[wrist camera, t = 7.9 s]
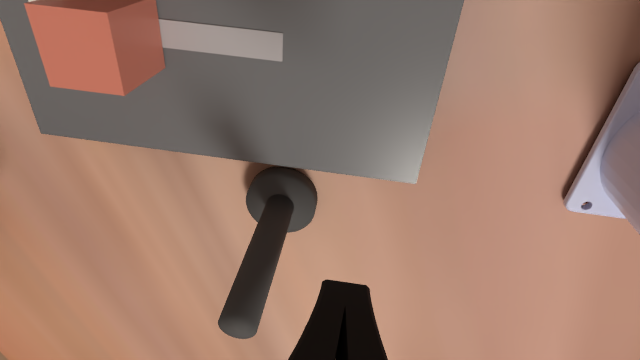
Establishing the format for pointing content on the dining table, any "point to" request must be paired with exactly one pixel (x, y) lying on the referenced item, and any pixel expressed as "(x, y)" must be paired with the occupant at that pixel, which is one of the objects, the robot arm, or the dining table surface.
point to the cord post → (266, 243)
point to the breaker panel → (269, 83)
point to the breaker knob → (97, 43)
